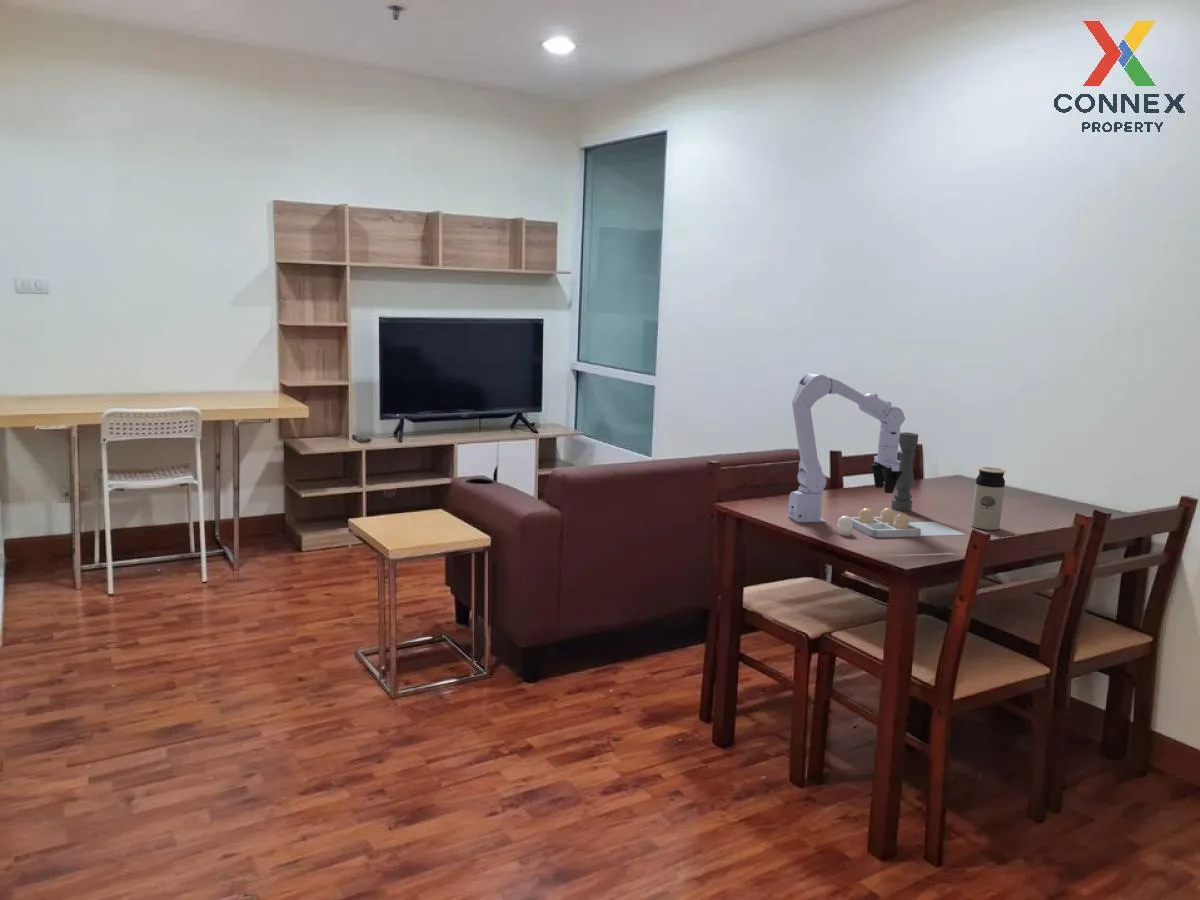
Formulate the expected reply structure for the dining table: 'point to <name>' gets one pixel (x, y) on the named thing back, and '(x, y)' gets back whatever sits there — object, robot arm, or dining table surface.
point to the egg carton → (913, 529)
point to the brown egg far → (887, 515)
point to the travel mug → (988, 498)
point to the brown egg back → (901, 521)
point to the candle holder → (905, 472)
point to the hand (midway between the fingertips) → (883, 490)
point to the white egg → (844, 526)
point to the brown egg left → (866, 516)
